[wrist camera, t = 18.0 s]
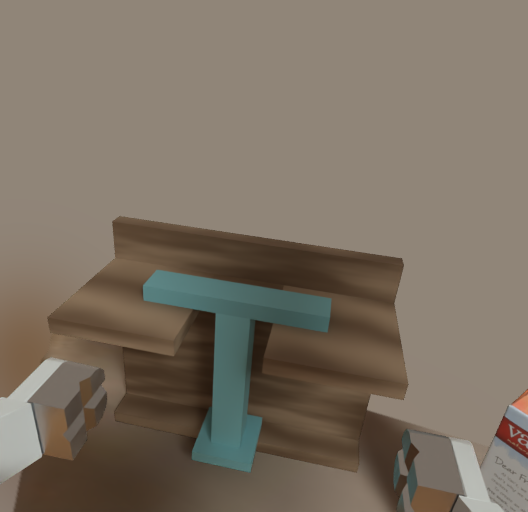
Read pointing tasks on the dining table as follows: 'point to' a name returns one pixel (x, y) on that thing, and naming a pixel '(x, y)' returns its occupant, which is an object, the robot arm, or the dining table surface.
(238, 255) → the wall shelf
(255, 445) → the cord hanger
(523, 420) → the cracker box
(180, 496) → the dining table surface
